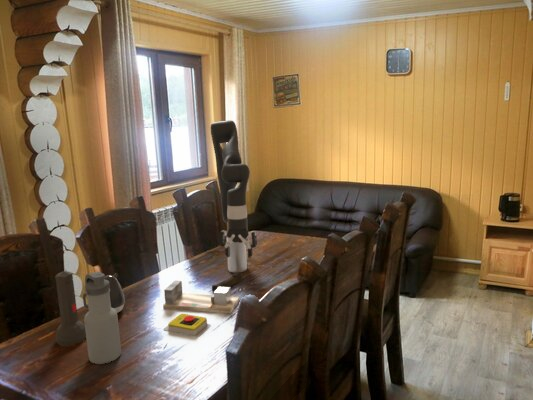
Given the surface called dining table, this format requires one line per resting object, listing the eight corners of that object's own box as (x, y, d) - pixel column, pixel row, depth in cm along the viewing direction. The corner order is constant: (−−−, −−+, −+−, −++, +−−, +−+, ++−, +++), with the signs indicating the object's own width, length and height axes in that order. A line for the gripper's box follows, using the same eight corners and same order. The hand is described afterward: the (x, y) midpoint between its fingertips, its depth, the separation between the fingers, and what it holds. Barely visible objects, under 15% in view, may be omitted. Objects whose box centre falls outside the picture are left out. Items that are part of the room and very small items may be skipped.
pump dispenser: (131, 307, 175) (127, 271, 172) (115, 319, 165) (111, 281, 162) (109, 305, 178) (105, 270, 175) (92, 316, 168) (88, 279, 165)
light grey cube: (219, 298, 177) (218, 286, 176) (231, 298, 176) (230, 287, 175) (214, 304, 171) (213, 292, 170) (226, 305, 170) (225, 293, 169)
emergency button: (197, 326, 149) (161, 320, 155) (198, 338, 150) (162, 331, 156) (211, 315, 158) (176, 309, 163) (211, 326, 158) (177, 320, 164)
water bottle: (83, 356, 140) (73, 274, 134) (112, 345, 146) (103, 266, 141) (96, 369, 133) (86, 282, 127) (126, 356, 139) (118, 273, 134)
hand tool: (218, 295, 185) (217, 285, 184) (211, 293, 188) (211, 283, 187) (247, 281, 200) (246, 271, 199) (240, 279, 202) (240, 270, 201)
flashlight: (49, 345, 148) (74, 348, 145) (40, 275, 143) (65, 277, 140) (70, 331, 157) (93, 334, 154) (61, 265, 152) (85, 267, 150)
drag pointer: (216, 297, 177) (215, 291, 177) (218, 298, 177) (218, 291, 177) (208, 308, 168) (207, 300, 168) (210, 308, 168) (210, 300, 167)
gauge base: (176, 296, 185) (174, 279, 183) (239, 300, 179) (238, 283, 177) (163, 308, 173) (162, 290, 172) (230, 313, 167) (229, 295, 166)
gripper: (257, 214, 168) (259, 254, 170) (222, 213, 171) (224, 253, 174) (252, 218, 160) (254, 260, 163) (216, 218, 164) (218, 259, 166)
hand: (239, 257), depth 168 cm, fingers open, 8 cm apart
